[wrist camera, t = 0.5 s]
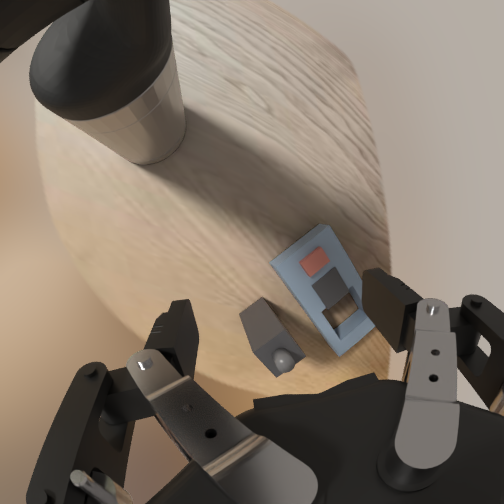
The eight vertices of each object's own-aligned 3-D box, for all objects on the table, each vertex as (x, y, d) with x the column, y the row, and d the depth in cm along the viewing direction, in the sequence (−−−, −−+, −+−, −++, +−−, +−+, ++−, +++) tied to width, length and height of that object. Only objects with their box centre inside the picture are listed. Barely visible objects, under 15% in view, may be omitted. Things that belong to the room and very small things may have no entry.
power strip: (269, 262, 33) (277, 269, 30) (319, 223, 34) (332, 225, 30) (330, 347, 37) (341, 359, 33) (371, 312, 37) (385, 321, 34)
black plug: (239, 314, 34) (256, 363, 22) (262, 296, 34) (291, 338, 22) (257, 335, 35) (281, 388, 23) (279, 319, 35) (313, 366, 23)
